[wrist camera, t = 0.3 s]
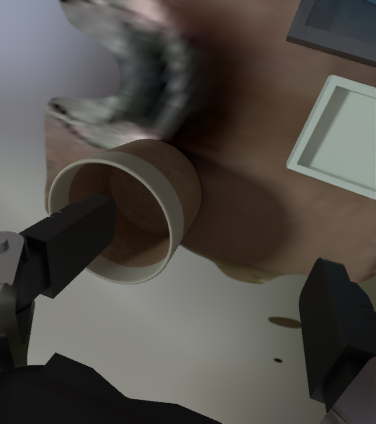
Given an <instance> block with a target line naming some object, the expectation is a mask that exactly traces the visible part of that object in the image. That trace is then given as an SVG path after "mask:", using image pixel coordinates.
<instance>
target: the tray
mask: <svg viewBox="0 0 376 424" xmlns="http://www.w3.org/2000/svg"><path fill="white" fill-rule="evenodd" d="M286 165H287V168H289V169H292V170H294V171H297V172H300V173H303V174H305V175H308V176H311V177H314V178H317V179H319V180H322V181H325V182H328V183H330V184H333V185H336V186H339V187H342V188H344V189H347V190H350V191H353V192H355V193H358V194H361V195H364V196H367V197H369V198H372V199H375V200H376V88H374V87H371V86H368V85H364V84H361V83H358V82H355V81H351V80H348V79H345V78H342V77H338V76H335V75H331V76H328V78H327V80H326V82H325V85H324V87H323V89H322V91H321V93H320V95H319V97H318V99H317V101H316V103H315V105H314V107H313V109H312V111H311V113H310V115H309V117H308V119H307V121H306V124H305V126H304V128H303V130H302V132H301V134H300V136H299V138H298V140H297V142H296V144H295V146H294V148H293V150H292V152H291V154H290V156H289V158H288V160H287V163H286Z"/></svg>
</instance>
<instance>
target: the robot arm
mask: <svg viewBox="0 0 376 424" xmlns="http://www.w3.org/2000/svg"><path fill="white" fill-rule="evenodd" d="M115 212H116V203H115V200H114V199H113V198H110V197H107V196H103V195H99V194H94V195H92V196H90V197H89V198H87V199H85V200H84V201H82V202H77V203H74V204H70V205H67V206H66V207H64V208H62V209H60V210H59V211H58V212H55V213H53V214H52V215H50V217H46V218H45V219H43V220H41V221H39V222H38V223H36V224H34V225H32V226H31V227H29V228H27V229H25V230H24V231H22V232H20V233H15V232H8V231H2V232H0V424H222V423H220V422H218V421H216V420H213V419H211V418H209V417H206V416H204V415H202V414H199V413H197V412H194V411H192V410H190V409H188V408H185V407H183V406H180V405H178V404H173V403H163V402H154V401H146V400H138V399H130V398H127V397H125V396H124V395H123V394H122V393H121V392H119V391H118V390H117V389H116V388H115V387H114V386H112V385H111V384H110V383H109V382H108V381H107V380H105V379H104V378H103V377H102V376H101V375H100V374H99V373H97V372H96V371H95V370H94V369H93V368H91V367H88V366H86V365H84V364H82V363H79V362H77V361H74V360H72V359H70V358H67V357H65V356H63V355H60V354H58V353H55V354H54V355H53V356H52V357H51V358H50V360H49V361H48V362H47V363H46V364H45V365H28V366H27V354H28V347H29V340H30V334H31V327H32V320H33V314H34V309H35V301H34V299H35V298H36V297H37V296H38V295H39V294H42V295H44V296H47V297H50V298H52V299H54V298H55V297H56V296H57V295H58V294H59V293H60V292H61V291H62V290H63V289H64V288H65V287H66V286H67V285H68V284H69V283H70V282H71V281H72V280H73V279H74V278H75V277H76V276H77V275H79V274H80V273H81V272H82V271H83V270H84V269H85V268H86V267H87V266H88V265H89V264H90V263H91V262H92V261H93V260H94V259H95V258H96V257H97V256H98V255H99V254H100V253H101V252H102V251H103V250H105V249H106V248H107V247H108V246H109V245H110V243H111V242H112V240H113V237H114V234H115ZM299 312H300V320H301V328H302V337H303V345H304V353H305V362H306V370H307V378H308V387H309V395H310V398H311V399H314V400H316V401H319V402H322V403H324V404H325V406H326V412H327V414H326V415H325V417H324V418H323V419H322V420H321V422H320V423H319V424H376V312H375V311H374V308H373V305H372V303H371V301H370V299H369V297H368V295H367V294H366V293H365V292H364V291H363V290H362V289H361V287H360V286H359V285H358V284H357V283H355V282H351V281H350V279H349V276H348V274H347V271H346V269H345V267H344V265H343V264H340V263H337V262H333V261H330V260H326V259H323V258H319V259H317V261H316V262H315V264H314V266H313V268H312V270H311V272H310V274H309V276H308V279H307V280H306V283H305V285H304V287H303V289H302V291H301V294H300V298H299Z"/></svg>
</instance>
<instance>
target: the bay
mask: <svg viewBox="0 0 376 424" xmlns="http://www.w3.org/2000/svg"><path fill="white" fill-rule="evenodd" d="M286 41H289V42H292V43H296V44H299V45H302V46H306V47H309V48H312V49H316V50H319V51H323V52H326V53H329V54H333V55H336V56H339V57H343V58H346V59H349V60H353V61H356V62H360V63H363V64H366V65H370V66H373V67H376V4H374V3H371V2H369V1H367V0H301V2H300V5H299V7H298V10H297V12H296V15H295V17H294V20H293V23H292V25H291V28H290V30H289V33H288V35H287V39H286Z"/></svg>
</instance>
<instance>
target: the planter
mask: <svg viewBox="0 0 376 424" xmlns="http://www.w3.org/2000/svg"><path fill="white" fill-rule="evenodd" d="M94 194H99V195H103V196H107V197H110V198H113V199H114V200H115V203H116V212H115V234H114V237H113V240H112V242H111V243H110V245H109V246H108V247H107V248H106V249H105V250H103V251H102V252H101V253H100V254H99V255H98V256H97V257H96V258H95V259H94V260H93V261H92V262H91V263H90V264H89V265H88V266H87V267H86V268H85V269H86V270H87V271H89V272H90V273H92V274H93V275H95V276H97V277H99V278H101V279H104V280H107V281H110V282H114V283H118V284H138V283H143V282H146V281H148V280H150V279H152V278H154V277H156V276H157V275H158V274H159V273H161V272H162V270H163V269H164V268H165V267H166V265H167V264H168V262H169V260H170V259H171V257H172V255H173V254H174V252H175V251H176V249H177V247H178V246H179V244H180V242H181V241H182V239H183V237H184V236H185V234H186V232H187V231H188V229H189V227H190V226H191V224H192V222H193V221H194V219H195V217H196V216H197V214H198V212H199V209H200V205H201V199H202V191H201V184H200V180H199V177H198V175H197V172H196V170H195V168H194V167H193V165H192V164H191V162H190V161H189V160H188V158H187V157H186V156H185V155H184V154H183V153H181V152H180V151H179V150H178V149H176V148H175V147H173V146H171V145H170V144H167V143H165V142H162V141H159V140H154V139H140V140H136V141H133V142H130V143H127V144H124V145H121V146H119V147H116V148H113V149H110V150H107V151H104V152H102V153H99V154H96V155H93V156H90V157H88V158H85V159H82V160H79V161H76V162H74V163H72V164H70V165H68V166H67V167H65V168H64V169H63V170H62V171H61V172H60V173H59V174H58V175H57V177H56V178H55V180H54V182H53V184H52V187H51V190H50V194H49V215H52V214H53V213H55V212H58V211H59V210H60V209H62V208H64V207H66V206H67V205H70V204H74V203H77V202H82V201H84V200H85V199H87V198H89V197H90V196H92V195H94Z"/></svg>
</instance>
